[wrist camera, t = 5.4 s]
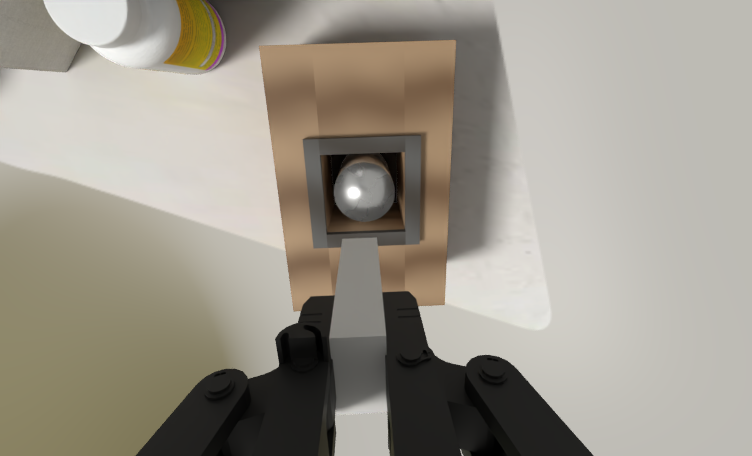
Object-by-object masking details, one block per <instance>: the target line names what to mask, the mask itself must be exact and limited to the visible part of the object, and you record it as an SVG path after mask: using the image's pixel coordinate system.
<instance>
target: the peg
mask: <svg viewBox="0 0 752 456" xmlns="http://www.w3.org/2000/svg"><path fill="white" fill-rule="evenodd" d="M394 197H395V187H394V183H393V180H392V177H391V174H390V171H389V168H388V165H387V162H386V160H385V159H384V157H383V156H382V155H381V154H380V153H365V154H348V155H347V156H346V157H345V159H344V160H343V162H342V164H341V167H340V170H339V173H338V176H337V179H336V182H335V186H334V198H335V202H336V204H337V206H338V208H339V209H340V210H341V212H342V213H343V214H344V215H346V216H347V217H349V218H350V219H353V220H356V221H361V222H369V221H373V220H376V219H378V218H380V217H382V216H383V215H384V214H386V213H387V212H388V210H389V209H390V208H391V206H392V204H393V201H394Z"/></svg>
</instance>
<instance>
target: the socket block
mask: <svg viewBox="0 0 752 456" xmlns="http://www.w3.org/2000/svg"><path fill="white" fill-rule="evenodd" d="M259 50H260V57H261V65H262V73H263V80H264V88H265V96H266V103H267V111H268V119H269V126H270V134H271V142H272V149H273V157H274V164H275V172H276V180H277V187H278V195H279V203H280V210H281V218H282V226H283V233H284V241H285V249H286V256H287V263H288V272H289V279H290V286H291V294H292V302H293V310H294V311H301V310H302V306H303V304H304V303H305V302H306V301H307V300H308V299H309V298H310V297H311V296H330V295H335V290H336V283H337V275H338V268H339V260H340V253H341V245H342V239H352V238H376V237H377V244H378V254H379V265H380V275H381V286H382V292H397V291H409V292H410V293H411V294H412V295H413V296H414V297H415V298H416V300H417V304H418V306H432V305H445V285H446V262H447V238H448V215H449V192H450V169H451V146H452V123H453V100H454V77H455V54H456V40H436V41H403V42H370V43H337V44H303V45H270V46H259ZM393 152H396V165H397V203H393V204H392V206H391V208H390V209H389V210H388V212H387V213H386V214H384V215H383V216H382V217H380V218H378V219H376V220H373V221H369V222H361V221H356V220H353V219H350V218H349V217H347V216H346V215H344V214H343V213H342V212H341V210H340V209H339V208H338V206H337V205H335V202H334V189H333V175H332V162H331V155H336V154H365V153H393Z"/></svg>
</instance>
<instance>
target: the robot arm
mask: <svg viewBox="0 0 752 456" xmlns="http://www.w3.org/2000/svg"><path fill="white" fill-rule="evenodd" d="M275 340H276V346H277V352H278V359H279V367H278V368H277V369H275V370H273V371H271V372H269V373H266V374H264V375H260V376H257V377H253V378H250V379H248V378H247V376H246V375H245V374H244V372H243V371H240V370H237V369H224V370H220V371H217V372H214V373H212V374H210V375H208V376H206V377H205V378H204V379H202V380H201V381H200V382H199V383H198V384H197V385H196V386H195V387H194V388H193V389H192V391H191V392H190V393H189V394H188V395H187V396H186V398H185V399H184V400H183V401H182V402H181V403H180V405H179V406H178V407H177V408H176V409H175V410H174V412H173V413H172V414H171V415H170V416H169V417H168V419H167V420H166V421H165V422H164V423H163V424H162V426H161V427H160V428H159V429H158V430H157V431H156V433H155V434H154V435H153V436H152V437H151V438H150V440H149V441H148V442H147V443H146V444H145V445H144V447H143V448H142V449H141V450H140V451H139V452H138V454H137V455H136V456H334V453H335V438H336V427H335V410H336V414H337V415H346V414H365V413H385V412H387V413H388V447H389V450H390V456H462V455H461V452H460V449H461V450H462V454H463V455H464V456H593V455H592V453H591V452H590V451H589V450H588V449H587V448H586V447H585V446H584V444H583V443H582V442H581V441H580V440H579V439H578V438H577V437H576V435H575V434H574V433H573V432H572V431H571V430H570V429H569V428H568V426H567V425H566V424H565V423H564V422H563V421H562V420H561V419H560V418H559V416H558V415H557V414H556V413H555V412H554V411H553V410H552V408H551V407H550V406H549V405H548V404H547V403H546V401H545V400H544V399H543V398H542V397H541V396H540V395H539V394H538V392H537V391H536V390H535V389H534V388H533V387H532V386H531V385H530V384H529V382H528V381H527V380H526V379H525V378H524V377H523V376H522V374H521V373H520V372H519V371H518V370H517V369H516V368H515V367H514V366H513V365H512V364H511V363H509V362H508V361H506V360H504V359H502V358H500V357H497V356H491V355H482V356H481V355H480V356H477V357H475V358H472V359H471V360H470V361H469V362H468V363H467V365H466V366H460V365H456V364H451V363H448V362H445V361H443V360H441V359H439V358H438V357H436V356H435V355H434V353H433V351H432V350H431V349H430V348H429V347H428V344H427V340H426V336H425V332H424V328H423V324H422V320H421V317H420V312H419V309H418V304H417V300H416V298H415V297H414V296H413V295H412V294H411V293H410V292H409V291H397V292H382V286H381V275H380V265H379V254H378V244H377V237H376V238H352V239H342V245H341V253H340V260H339V268H338V275H337V283H336V290H335V295H330V296H311V297H310V298H309V299H308V300H307V301H306V302H305V303H304V304H303V306H302V310H301V313H300V317H299V321H298V323H296V324H293V325H291V326H288V327H286V328H285V329H284V330H282V331H281V332H280V333H279V334H278V336H277V337H276V339H275Z"/></svg>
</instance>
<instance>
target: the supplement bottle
mask: <svg viewBox="0 0 752 456" xmlns="http://www.w3.org/2000/svg"><path fill="white" fill-rule="evenodd" d="M43 1H44V4H45V7H46V9H47V11H48V13H49V14H50V16H51V18H52V19H53V21H54V22H55V23H56V24H57V26H58V27H59V28H60V29H61V30H62V31H64V32H65V33H66V34H67V35H69V36H70V37H72V38H73V39H75V40H77V41H79V42H81V43H84V44H87V45H90V46H91V47H92V48H93V49H94V50H95V51H96V52H98V53H99V54H100V55H101V56H103V57H104V58H106V59H108V60H110V61H111V62H114V63H116V64H118V65H121V66H124V67H129V68H136V69H145V70H154V71H163V72H172V73H180V74H190V75H198V74H203V73H206V72H208V71H210V70H212V69H213V68H215V67H216V66H217V65H218V64H219V62H220V61H221V59H222V57H223V55H224V52H225V49H226V32H225V28H224V25H223V22H222V20H221V17H220V16H219V14H218V12H217V11H216V9H215V8H214V7H213V6H212V5H211V4H210V3H209V2H208V1H207V0H43Z"/></svg>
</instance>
